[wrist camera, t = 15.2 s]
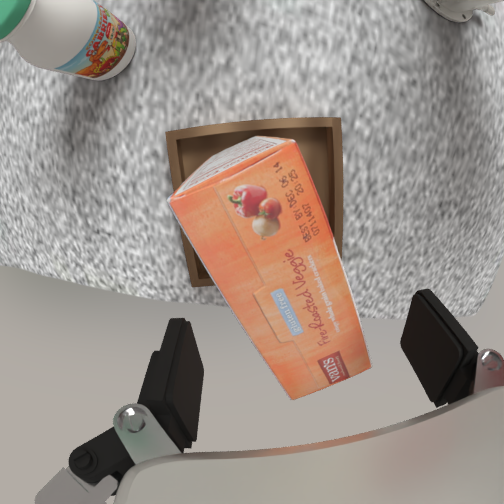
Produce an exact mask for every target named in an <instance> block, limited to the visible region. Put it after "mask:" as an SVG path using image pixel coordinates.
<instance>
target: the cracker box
mask: <svg viewBox="0 0 504 504" xmlns="http://www.w3.org/2000/svg"><path fill="white" fill-rule="evenodd" d="M167 203H168V205H169V207H170V208H171V210H172V212H173V214H174V215H175V217H176V219H177V221H178V222H179V224H180V226H181V228H182V229H183V231H184V233H185V235H186V236H187V238H188V240H189V241H190V243H191V245H192V246H193V248H194V250H195V252H196V253H197V255H198V257H199V258H200V260H201V262H202V263H203V265H204V267H205V269H206V270H207V272H208V274H209V275H210V277H211V279H212V280H213V282H214V283H215V285H216V287H217V288H218V290H219V292H220V293H221V295H222V296H223V298H224V300H225V301H226V303H227V305H228V306H229V308H230V309H231V311H232V313H233V314H234V316H235V317H236V319H237V320H238V322H239V323H240V325H241V326H242V328H243V330H244V331H245V333H246V334H247V336H248V337H249V339H250V340H251V342H252V343H253V345H254V346H255V348H256V349H257V351H258V352H259V354H260V355H261V357H262V358H263V360H264V361H265V363H266V364H267V366H268V367H269V369H270V370H271V372H272V373H273V375H274V376H275V377H276V379H277V380H278V382H279V383H280V385H281V386H282V388H283V389H284V391H285V392H286V394H287V395H288V397H289V398H290V400H294V399H297V398H300V397H303V396H306V395H308V394H311V393H314V392H316V391H319V390H321V389H324V388H326V387H329V386H331V385H333V384H336V383H338V382H341V381H343V380H346V379H348V378H350V377H352V376H355V375H357V374H359V373H361V372H363V371H365V370H367V369H370V368H372V362H371V358H370V354H369V350H368V346H367V342H366V339H365V335H364V331H363V328H362V325H361V321H360V317H359V314H358V310H357V307H356V304H355V300H354V297H353V294H352V291H351V287H350V284H349V281H348V278H347V275H346V272H345V269H344V267H343V264H342V261H341V258H340V255H339V252H338V249H337V246H336V243H335V240H334V237H333V234H332V231H331V228H330V225H329V222H328V219H327V216H326V214H325V211H324V208H323V206H322V203H321V201H320V198H319V195H318V193H317V190H316V188H315V185H314V183H313V180H312V178H311V175H310V173H309V170H308V168H307V166H306V163H305V161H304V159H303V156H302V154H301V152H300V149H299V147H298V145H297V143H296V141H295V140H294V139H287V138H278V137H266V136H255V137H252V138H250V139H248V140H245V141H243V142H241V143H238V144H236V145H234V146H232V147H230V148H227V149H225V150H223V151H221V152H219V153H217V154H215V155H213V156H211V157H210V158H209V159H208V160H206V161H205V162H204V163H203V164H202V165H201V166H200V167H199V168H198V169H197V170H196V171H194V172H193V173H192V174H191V175H190V176H189V177H188V178H187V179H186V180H185V181H184V182H183V183H182V184H181V186H180V187H179V188H178V189H177V190H176V191H175V192H174V193H173V194H172V195H171V196H169V197H168V198H167Z"/></svg>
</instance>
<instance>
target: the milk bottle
mask: <svg viewBox="0 0 504 504" xmlns="http://www.w3.org/2000/svg"><path fill="white" fill-rule="evenodd" d="M4 41H8V42H9V43H11V44H12V45H13V46H14V47H15V49H16V50H17V51H18V53H19V54H20V56H21V57H22V58H23V59H24V60H25V61H27V62H28V63H30V64H31V65H34V66H36V67H39V68H43V69H46V70H50V71H55V72H60V73H64V74H69V75H73V76H77V77H82V78H86V79H91V80H97V81H101V80H106V79H109V78H112V77H114V76H115V75H117V74H119V73H120V72H121V71H122V70H123V69H124V68H125V67H126V66H127V65H128V64H129V62H130V61H131V59H132V57H133V55H134V52H135V48H136V39H135V35H134V33H133V32H132V30H131V29H130V28H129V27H128V26H127V25H125V24H124V23H123V22H122V21H120V20H119V19H118V18H117V17H115V16H114V15H113V14H112V13H110V12H109V11H108V10H106V9H105V8H103V7H102V6H101V5H99V4H98V3H96V2H95V1H93V0H0V42H4Z"/></svg>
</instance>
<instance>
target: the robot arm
mask: <svg viewBox="0 0 504 504" xmlns="http://www.w3.org/2000/svg"><path fill="white" fill-rule="evenodd" d="M424 1H425V2H426V3H427V4H428V5H429V6H430V7H431V8H432V9H433V10H435V11H436V12H437V13H438V14H440V15H441V16H443V17H444V18H446V19H448V20H450V21H454V22H459V23H461V22H465V21H468V20H469V19H470V18H471V17H472V14H473V10H475V9H478V10H483V11H484V12H486V13H487V14H489V15H491V16H492V15H494V14H495V10H494V8H493V7H492V6H490V5H488V4H492V3H496V2H501V1H504V0H424ZM400 344H401V348H402V350H403V351H404V353H405V355H406V357H407V358H408V360H409V362H410V364H411V365H412V367H413V369H414V371H415V373H416V375H417V377H418V378H419V380H420V382H421V384H422V386H423V388H424V390H425V392H426V394H427V395H428V397H429V399H430V401H431V402H434V404H435V406H436V407H439V406H442V405H444V404H446V403H448V405H447V406H444V407H442V408H439V409H437V410H434V411H432V412H429V413H426V414H424V415H421V416H418V417H415V418H412V419H409V420H406V421H403V422H400V423H397V424H394V425H390V426H387V427H384V428H380V429H377V430H373V431H369V432H365V433H361V434H358V435H353V436H348V437H344V438H339V439H334V440H329V441H323V442H318V443H312V444H305V445H298V446H291V447H283V448H273V449H260V450H248V451H227V452H196V453H195V452H194V453H183V452H184V448H191V446H192V441H194V442H195V441H196V440H197V431H198V421H199V412H200V402H201V394H202V385H203V376H204V368H203V364H202V361H201V358H200V355H199V351H198V347H197V344H196V341H195V337H194V334H193V330H192V327H191V323H190V322H189V321H186V320H185V318H171V319H170V320H169V323H168V326H167V329H166V332H165V336H164V339H163V343H162V345H161V349H160V351H154V352H153V353H152V356H151V359H150V362H149V365H148V369H147V372H146V375H145V378H144V382H143V385H142V388H141V392H140V395H139V399H138V402H137V404H128V405H126V406H123V407H122V408H121V409H119V410H118V411H117V413H116V414H115V416H114V419H113V425H114V427H112V428H110V429H109V430H107V431H105V432H104V433H102V434H100V435H99V436H97V437H95V438H93V439H92V440H90V441H88V442H86V443H84V444H83V445H81V446H79V447H77V448H76V449H75V450H73V452H72V453H71V454H70V457H69V466H68V467H67V469H65V468H62V469H61V470H60V471H59V472H58V473H57V474H56V475H55V476H54V477H53V478H52V479H51V480H50V481H49V482H48V483H47V484H46V485H45V486H44V487H43V488H42V489H41V490H40V491H39V492H38V494H37V495H36V497H35V504H106V502H105V501H106V500H107V499H108V498H109V497H110V496H114V495H116V496H115V500H114V504H504V360H503V357H502V356H501V355H500V354H499V353H498V352H497V351H495V350H492V349H484V350H482V351H481V352H480V353H478V352H477V349H478V346H477V345H476V344H475V342H474V341H473V340H472V339H471V337H470V336H469V335H468V334H467V332H466V331H465V330H464V329H463V327H462V326H461V325H460V324H459V322H458V321H457V320H456V319H455V318H454V316H453V315H452V314H451V313H450V312H449V310H448V309H447V308H446V307H445V306H444V305H443V304H442V302H441V301H440V300H439V299H438V298H437V297H436V296H435V294H434V293H433V292H432V291H431V290H430V289H424V290H419V291H417V292H416V293H415V295H413V297H412V301H411V305H410V309H409V313H408V316H407V320H406V324H405V327H404V331H403V334H402V337H401V341H400Z"/></svg>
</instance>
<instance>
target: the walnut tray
mask: <svg viewBox="0 0 504 504" xmlns="http://www.w3.org/2000/svg"><path fill="white" fill-rule="evenodd" d="M165 133H166V141H167V149H168V156H169V163H170V170H171V177H172V183H173V190H174V192H175V191H176V190H177V189H178V188H179V187H180V186H181V184H182V183H183V182H184V181H185V180H186V179H187V178H188V177H189V176H190V175H191V174H192V173H193V172H194V171H196V170H197V169H198V168H199V167H200V166H201V165H202V164H203V163H204V162H205V161H206V160H208V159H209V158H210V157H211V156H213V155H215V154H217V153H219V152H221V151H223V150H225V149H227V148H230V147H232V146H234V145H236V144H238V143H241V142H243V141H245V140H248V139H250V138H252V137H255V136H266V137H278V138H287V139H294V140H295V141H296V143H297V145H298V147H299V149H300V152H301V154H302V156H303V159H304V161H305V163H306V166H307V168H308V170H309V173H310V175H311V178H312V180H313V183H314V185H315V188H316V190H317V193H318V195H319V198H320V201H321V203H322V206H323V208H324V211H325V214H326V216H327V219H328V222H329V225H330V228H331V231H332V234H333V237H334V240H335V243H336V246H337V249H338V252H339V255H340V258H341V261H342V239H343V151H342V129H341V118H336V117H311V118H280V119H264V120H251V121H240V122H230V123H222V124H213V125H206V126H199V127H192V128H186V129H180V130H174V131H168V132H165ZM179 225H180V224H179ZM180 230H181V236H182V241H183V246H184V251H185V256H186V261H187V266H188V271H189V275H190V280H191V284H192V287H202V286H213V285H215V283H214V282H213V280H212V279H211V277H210V275H209V274H208V272H207V270H206V269H205V267H204V265H203V263H202V262H201V260H200V258H199V257H198V255H197V253H196V252H195V250H194V248H193V246H192V245H191V243H190V241H189V240H188V238H187V236H186V235H185V233H184V231H183V229H182V228H181V226H180Z"/></svg>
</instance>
